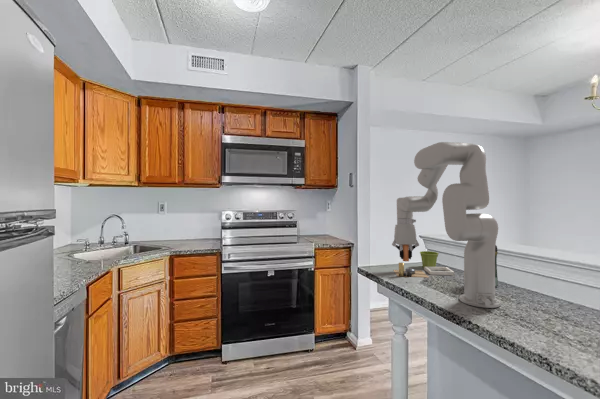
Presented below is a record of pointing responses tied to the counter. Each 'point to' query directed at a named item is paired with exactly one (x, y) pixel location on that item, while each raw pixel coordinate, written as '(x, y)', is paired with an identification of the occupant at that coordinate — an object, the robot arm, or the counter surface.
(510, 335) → the counter surface
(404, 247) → the pin
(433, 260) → the plant pot
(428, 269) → the tray
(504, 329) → the counter surface
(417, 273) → the crank base
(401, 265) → the crank
